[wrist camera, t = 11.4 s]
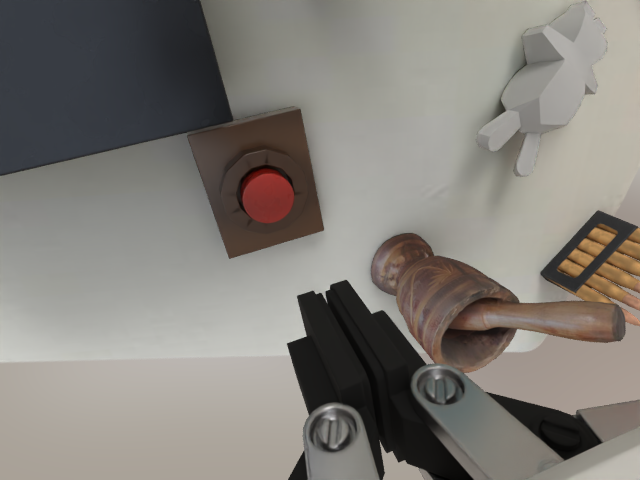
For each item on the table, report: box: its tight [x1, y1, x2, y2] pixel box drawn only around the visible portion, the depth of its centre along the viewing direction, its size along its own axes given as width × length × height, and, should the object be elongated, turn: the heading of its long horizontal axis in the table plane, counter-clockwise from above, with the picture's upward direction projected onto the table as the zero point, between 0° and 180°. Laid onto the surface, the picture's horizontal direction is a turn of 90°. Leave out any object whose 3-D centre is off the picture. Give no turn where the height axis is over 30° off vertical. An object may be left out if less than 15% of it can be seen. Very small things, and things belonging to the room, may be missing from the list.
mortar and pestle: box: [371, 233, 625, 373], centre depth 32 cm, size 12×9×20 cm
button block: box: [187, 106, 324, 259], centre depth 31 cm, size 11×9×4 cm
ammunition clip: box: [541, 211, 640, 326], centre depth 43 cm, size 11×2×12 cm, turn 140°
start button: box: [240, 168, 294, 223], centre depth 29 cm, size 4×4×2 cm
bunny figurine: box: [476, 1, 607, 177], centre depth 35 cm, size 10×5×15 cm
